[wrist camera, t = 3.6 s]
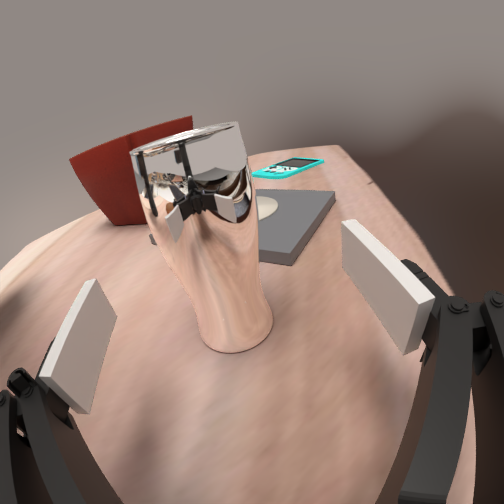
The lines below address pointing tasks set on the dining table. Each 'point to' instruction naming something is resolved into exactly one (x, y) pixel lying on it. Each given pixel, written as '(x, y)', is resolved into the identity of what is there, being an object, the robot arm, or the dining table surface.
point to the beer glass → (208, 229)
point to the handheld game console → (287, 168)
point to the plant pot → (120, 171)
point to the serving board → (288, 221)
